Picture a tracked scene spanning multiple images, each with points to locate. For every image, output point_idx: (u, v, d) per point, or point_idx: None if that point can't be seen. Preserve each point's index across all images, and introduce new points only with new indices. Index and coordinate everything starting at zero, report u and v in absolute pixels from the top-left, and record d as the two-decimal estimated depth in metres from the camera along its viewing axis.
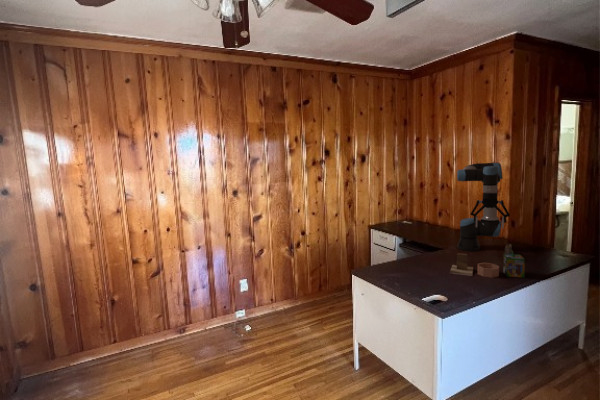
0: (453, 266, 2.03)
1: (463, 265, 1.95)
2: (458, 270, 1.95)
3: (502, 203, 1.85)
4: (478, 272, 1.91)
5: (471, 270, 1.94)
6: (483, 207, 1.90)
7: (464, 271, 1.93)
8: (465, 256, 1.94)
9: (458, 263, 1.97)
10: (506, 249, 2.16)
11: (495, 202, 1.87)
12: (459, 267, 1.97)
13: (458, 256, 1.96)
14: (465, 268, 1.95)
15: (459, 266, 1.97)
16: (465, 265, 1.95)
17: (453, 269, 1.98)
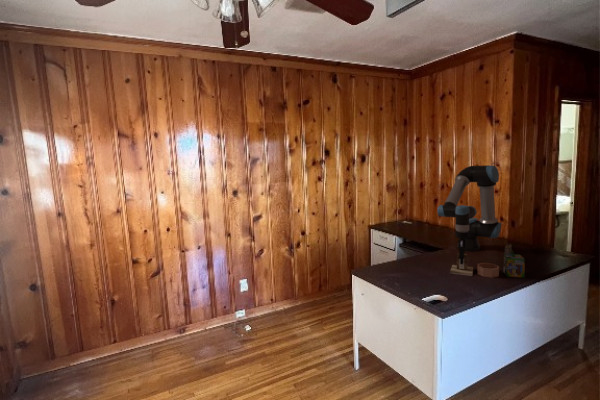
0: (453, 266, 2.03)
1: None
2: (458, 270, 1.95)
3: (459, 245, 1.91)
4: (478, 272, 1.91)
5: (471, 270, 1.94)
6: None
7: (464, 271, 1.93)
8: (465, 256, 1.94)
9: (458, 263, 1.97)
10: (506, 249, 2.16)
11: (459, 240, 1.93)
12: None
13: (458, 256, 1.96)
14: (465, 268, 1.95)
15: None
16: (465, 265, 1.95)
17: (453, 269, 1.98)
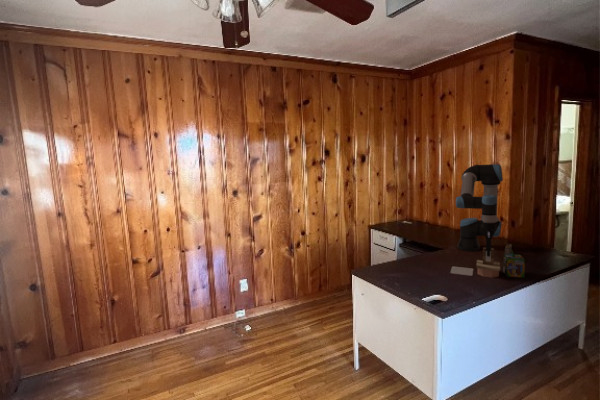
0: (478, 261, 1.95)
1: None
2: (484, 265, 1.88)
3: (486, 236, 1.83)
4: (478, 272, 1.91)
5: (498, 265, 1.86)
6: None
7: (491, 266, 1.86)
8: (492, 250, 1.86)
9: (484, 258, 1.89)
10: (506, 249, 2.16)
11: (486, 232, 1.85)
12: (485, 262, 1.89)
13: (484, 251, 1.88)
14: (492, 263, 1.87)
15: (486, 261, 1.89)
16: (492, 260, 1.87)
17: (479, 264, 1.90)
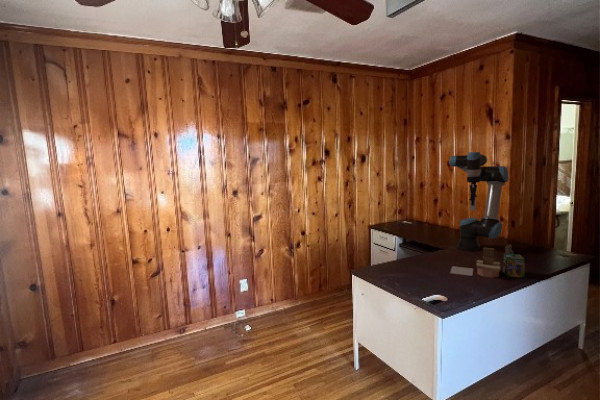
0: (478, 261, 1.95)
1: (490, 260, 1.88)
2: (484, 265, 1.88)
3: (470, 186, 2.01)
4: (478, 272, 1.91)
5: (498, 265, 1.86)
6: None
7: (491, 266, 1.86)
8: (492, 250, 1.86)
9: (484, 258, 1.89)
10: (506, 249, 2.16)
11: (471, 185, 2.04)
12: (485, 262, 1.89)
13: (484, 251, 1.88)
14: (492, 263, 1.87)
15: (486, 261, 1.89)
16: (492, 260, 1.87)
17: (479, 264, 1.90)
